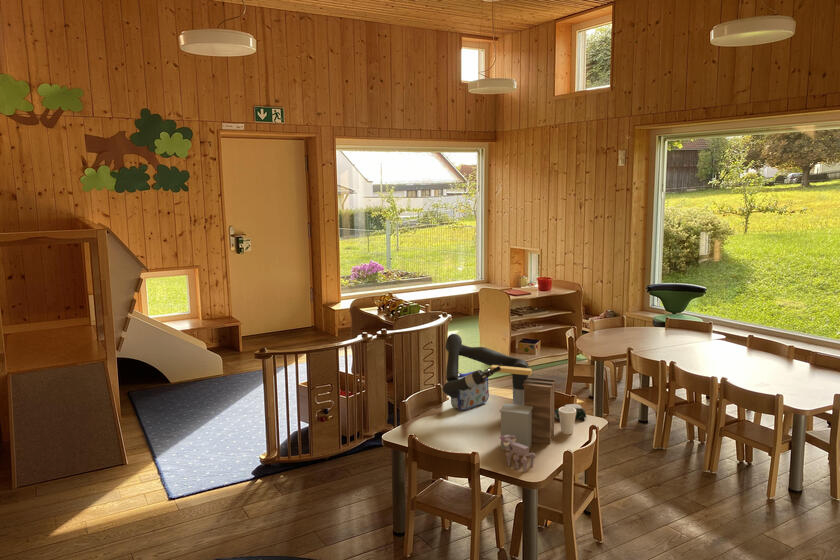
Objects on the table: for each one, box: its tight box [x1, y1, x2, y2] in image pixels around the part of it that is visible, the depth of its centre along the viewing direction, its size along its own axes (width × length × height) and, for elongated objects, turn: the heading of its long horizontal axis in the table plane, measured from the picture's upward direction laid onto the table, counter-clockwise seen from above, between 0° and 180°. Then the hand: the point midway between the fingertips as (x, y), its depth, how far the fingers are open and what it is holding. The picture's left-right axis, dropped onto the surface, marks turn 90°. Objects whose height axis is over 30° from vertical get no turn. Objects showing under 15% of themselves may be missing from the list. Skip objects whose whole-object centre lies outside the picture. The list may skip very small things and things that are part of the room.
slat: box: [490, 365, 533, 376], centre depth 350 cm, size 4×22×2 cm, turn 68°
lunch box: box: [450, 370, 490, 412], centre depth 398 cm, size 28×10×22 cm, turn 130°
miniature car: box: [554, 403, 587, 422], centre depth 376 cm, size 9×18×8 cm, turn 92°
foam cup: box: [558, 406, 576, 435], centre depth 357 cm, size 10×9×13 cm
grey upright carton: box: [499, 403, 533, 452], centre depth 339 cm, size 11×15×22 cm
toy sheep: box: [498, 434, 536, 473], centre depth 321 cm, size 20×11×14 cm, turn 44°
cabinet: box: [523, 376, 556, 445], centre depth 348 cm, size 13×15×33 cm
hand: (501, 366), depth 352 cm, fingers closed on slat, 4 cm apart
